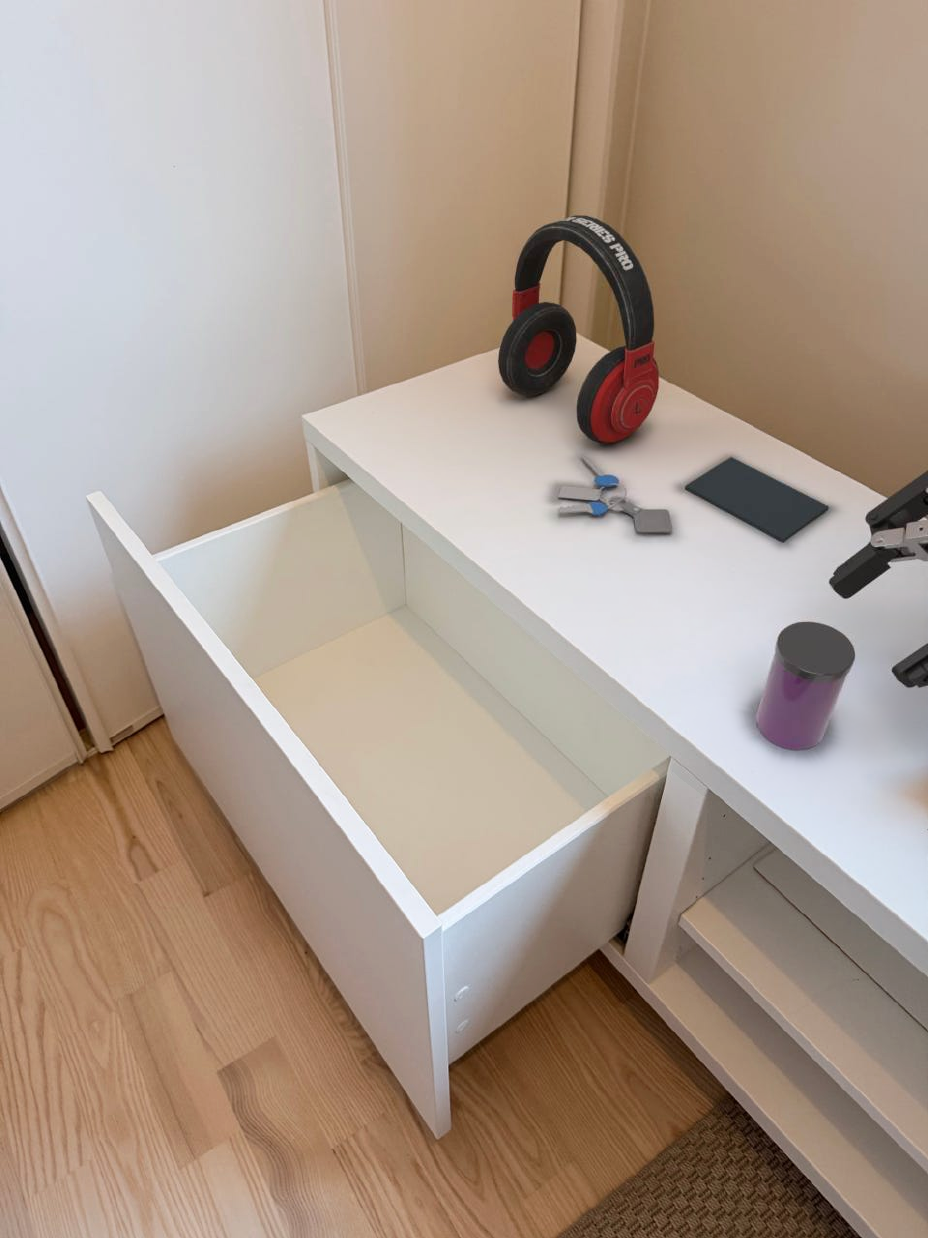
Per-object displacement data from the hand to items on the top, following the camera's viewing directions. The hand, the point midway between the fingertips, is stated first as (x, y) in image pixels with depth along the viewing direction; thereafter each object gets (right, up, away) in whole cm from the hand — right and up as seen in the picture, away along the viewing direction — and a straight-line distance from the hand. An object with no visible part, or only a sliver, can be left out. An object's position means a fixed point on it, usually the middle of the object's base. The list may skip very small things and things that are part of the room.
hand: (866, 633), depth 62 cm
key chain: (-14, +11, +25) cm, 31 cm away
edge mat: (0, +12, +25) cm, 28 cm away
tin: (-3, -7, +5) cm, 9 cm away
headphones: (-15, +22, +36) cm, 45 cm away
